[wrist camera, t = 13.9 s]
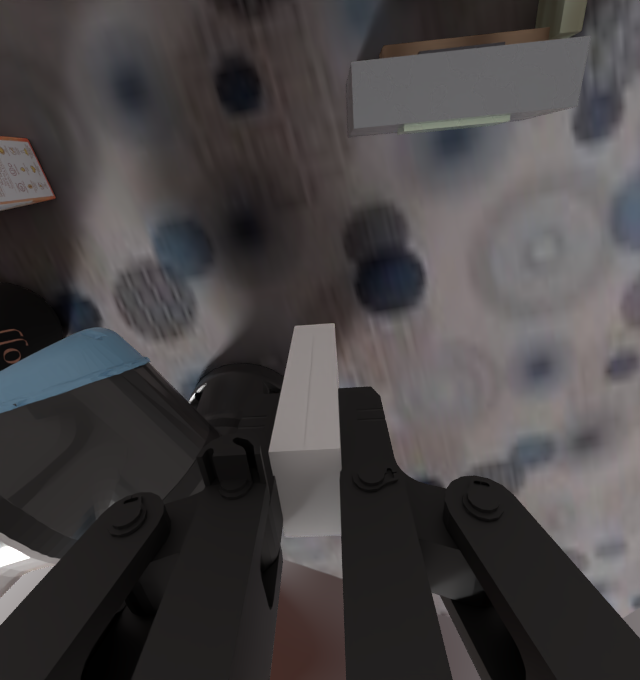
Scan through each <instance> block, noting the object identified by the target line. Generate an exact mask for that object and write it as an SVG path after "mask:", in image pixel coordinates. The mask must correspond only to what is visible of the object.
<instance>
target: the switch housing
mask: <svg viewBox="0 0 640 680" xmlns="http://www.w3.org/2000/svg"><path fill="white" fill-rule="evenodd" d="M590 39H591V36H582V37H573V38H564V39H555V40H546V41H537V42H528V43H518V44H509V45H505V42H499V43H490V44H481V45H472V46H462V47H453V48H444V49H435V50H426V51H419V53H418V54H417V55H409V56H400V57H391V58H382V59H372V60H363V61H354V62H351V66H350V70H349V75H348V79H347V84H346V99H347V123H348V137H356V136H367V135H377V134H387V133H397V135H400V134H411V133H421V132H431V131H441V130H452V129H462V128H472V127H482V126H493V125H497V124H501V123H504V122H509V121H520V120H525V119H529V118H533V117H537V116H541V115H545V114H549V113H553V112H557V111H561V110H565V109H569V108H573V107H577V105H578V100H579V95H580V90H581V85H582V80H583V75H584V70H585V65H586V59H587V54H588V49H589V44H590Z"/></svg>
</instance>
